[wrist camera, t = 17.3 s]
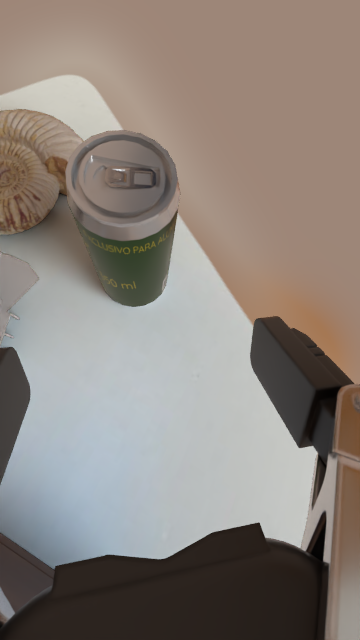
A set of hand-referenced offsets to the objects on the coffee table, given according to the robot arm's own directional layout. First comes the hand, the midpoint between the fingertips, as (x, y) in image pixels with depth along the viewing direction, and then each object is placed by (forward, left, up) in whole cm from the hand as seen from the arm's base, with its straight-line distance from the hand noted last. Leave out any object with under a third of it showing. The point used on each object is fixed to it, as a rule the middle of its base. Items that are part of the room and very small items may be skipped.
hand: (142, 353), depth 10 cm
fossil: (-18, +8, -13) cm, 24 cm away
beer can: (-5, +6, -13) cm, 16 cm away
